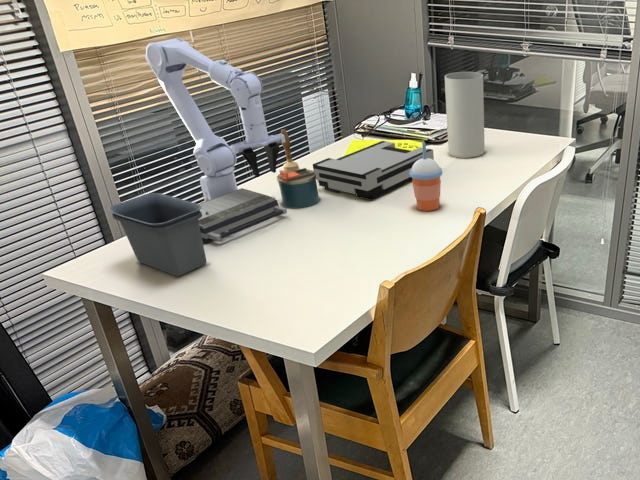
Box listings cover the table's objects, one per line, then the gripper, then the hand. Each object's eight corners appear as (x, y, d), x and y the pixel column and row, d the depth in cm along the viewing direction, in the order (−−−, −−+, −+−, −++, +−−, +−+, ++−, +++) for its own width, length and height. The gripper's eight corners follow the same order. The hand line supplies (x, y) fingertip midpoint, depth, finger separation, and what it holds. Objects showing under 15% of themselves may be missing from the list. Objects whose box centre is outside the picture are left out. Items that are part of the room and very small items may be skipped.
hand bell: (292, 187, 202) (281, 134, 193) (274, 182, 206) (264, 130, 197) (312, 179, 207) (303, 128, 198) (295, 175, 211) (286, 124, 202)
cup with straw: (439, 214, 181) (435, 148, 170) (408, 212, 182) (402, 147, 172) (447, 202, 188) (444, 138, 178) (417, 200, 190) (412, 137, 179)
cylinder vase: (444, 150, 229) (440, 73, 215) (478, 146, 232) (476, 70, 218) (454, 160, 219) (450, 81, 205) (489, 156, 222) (488, 77, 208)
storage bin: (121, 263, 159) (100, 207, 151) (176, 241, 170) (160, 187, 162) (174, 285, 149) (155, 226, 141) (230, 259, 160) (215, 203, 152)
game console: (434, 171, 211) (432, 145, 206) (369, 203, 189) (365, 175, 184) (384, 161, 220) (382, 137, 216) (317, 191, 198) (312, 164, 194)
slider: (285, 180, 183) (284, 174, 182) (279, 176, 186) (278, 170, 185) (300, 176, 186) (299, 170, 185) (293, 173, 188) (292, 167, 187)
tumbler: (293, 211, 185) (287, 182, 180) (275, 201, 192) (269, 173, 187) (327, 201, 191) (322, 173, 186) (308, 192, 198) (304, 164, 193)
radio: (240, 185, 189) (286, 198, 179) (244, 202, 192) (289, 216, 182) (163, 212, 173) (209, 228, 163) (169, 231, 176) (215, 248, 166)
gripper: (234, 131, 167) (246, 183, 174) (286, 120, 174) (295, 170, 182) (223, 126, 171) (235, 177, 179) (274, 115, 179) (284, 165, 187)
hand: (265, 173), depth 181 cm, fingers open, 4 cm apart
